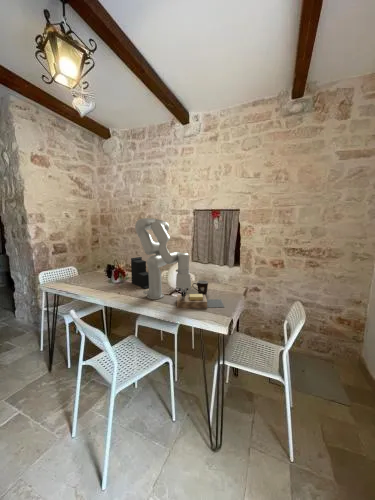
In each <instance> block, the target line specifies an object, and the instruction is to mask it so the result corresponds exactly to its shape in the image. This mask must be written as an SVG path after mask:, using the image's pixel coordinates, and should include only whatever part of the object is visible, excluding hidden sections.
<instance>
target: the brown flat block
mask: <svg viewBox="0 0 375 500" xmlns="http://www.w3.org/2000/svg"><path fill="white" fill-rule="evenodd" d="M206 296H207V295H203V300H190V297H189V294H186V296H185V298H182V296H181V294H177V298H176V308H177V309H195V308H196V309H197V308H198V309H204V308H205V309H207V308H208V306H207V300H208V299H207V297H206Z"/></svg>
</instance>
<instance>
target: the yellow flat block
mask: <svg viewBox="0 0 375 500" xmlns="http://www.w3.org/2000/svg"><path fill="white" fill-rule="evenodd" d="M188 295H189V297H190V300H203V295H202V294H198V293H189V294H188Z"/></svg>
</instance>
